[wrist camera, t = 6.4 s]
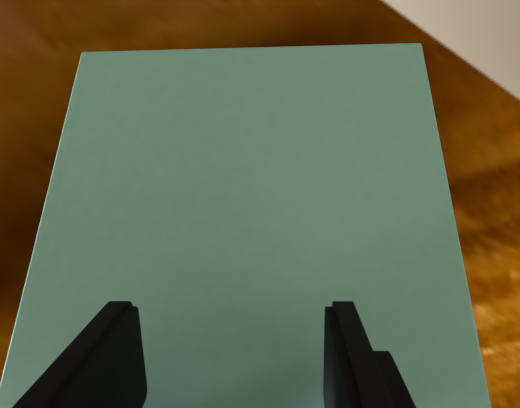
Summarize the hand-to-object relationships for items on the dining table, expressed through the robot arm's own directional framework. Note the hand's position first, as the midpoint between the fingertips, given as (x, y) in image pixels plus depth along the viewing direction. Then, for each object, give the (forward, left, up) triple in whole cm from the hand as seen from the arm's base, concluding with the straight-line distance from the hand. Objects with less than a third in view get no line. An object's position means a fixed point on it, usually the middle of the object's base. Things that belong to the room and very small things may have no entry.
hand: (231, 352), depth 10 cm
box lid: (-2, 0, -4) cm, 5 cm away
